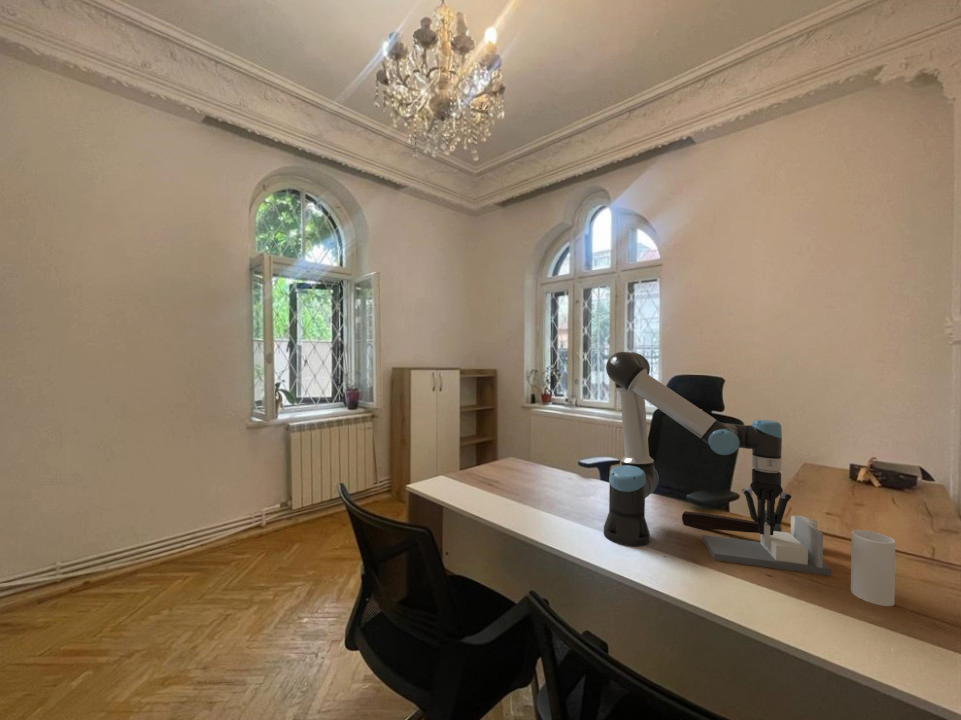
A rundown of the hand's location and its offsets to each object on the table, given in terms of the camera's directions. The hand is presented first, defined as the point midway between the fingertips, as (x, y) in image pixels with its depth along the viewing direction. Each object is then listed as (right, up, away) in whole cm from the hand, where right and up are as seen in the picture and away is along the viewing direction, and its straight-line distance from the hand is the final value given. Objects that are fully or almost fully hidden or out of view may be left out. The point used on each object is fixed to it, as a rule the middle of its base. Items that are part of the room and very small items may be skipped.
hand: (765, 544), depth 126 cm
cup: (+13, -5, -21) cm, 25 cm away
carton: (+4, -2, -1) cm, 5 cm away
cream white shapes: (+19, -4, +8) cm, 21 cm away
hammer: (-1, -5, +17) cm, 17 cm away
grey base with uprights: (-1, -4, 0) cm, 4 cm away
